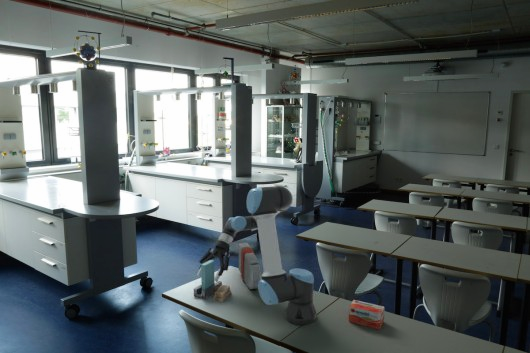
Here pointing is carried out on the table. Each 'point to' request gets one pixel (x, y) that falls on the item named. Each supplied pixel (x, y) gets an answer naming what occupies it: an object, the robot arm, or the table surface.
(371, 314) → the medicine box
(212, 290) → the board rack
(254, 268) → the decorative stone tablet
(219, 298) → the block
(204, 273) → the teal board
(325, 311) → the table surface
